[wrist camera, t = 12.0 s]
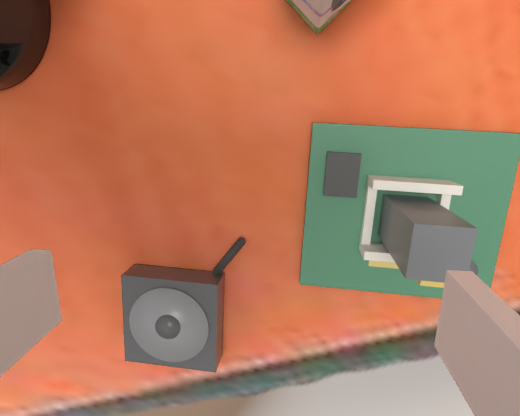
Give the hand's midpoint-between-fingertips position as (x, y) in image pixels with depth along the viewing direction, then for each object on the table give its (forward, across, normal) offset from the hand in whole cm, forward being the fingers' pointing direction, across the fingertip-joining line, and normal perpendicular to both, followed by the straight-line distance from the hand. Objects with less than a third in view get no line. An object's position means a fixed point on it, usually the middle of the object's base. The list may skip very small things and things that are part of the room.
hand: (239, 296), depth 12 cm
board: (+24, +12, -4) cm, 27 cm away
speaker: (+24, -10, -16) cm, 31 cm away
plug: (+23, +12, -4) cm, 26 cm away
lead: (+24, -5, -9) cm, 26 cm away
